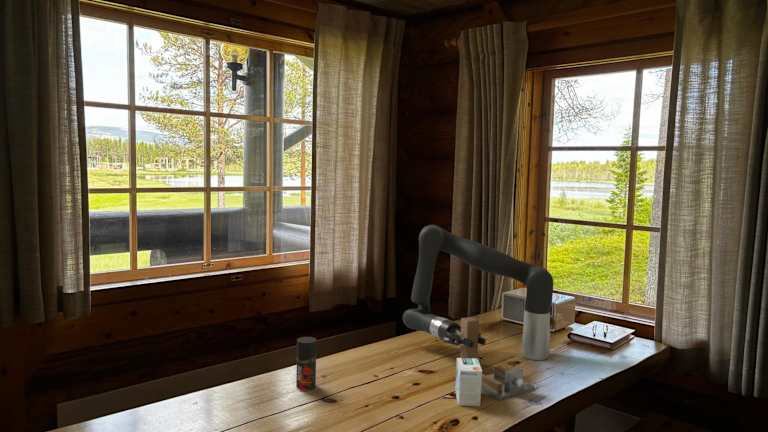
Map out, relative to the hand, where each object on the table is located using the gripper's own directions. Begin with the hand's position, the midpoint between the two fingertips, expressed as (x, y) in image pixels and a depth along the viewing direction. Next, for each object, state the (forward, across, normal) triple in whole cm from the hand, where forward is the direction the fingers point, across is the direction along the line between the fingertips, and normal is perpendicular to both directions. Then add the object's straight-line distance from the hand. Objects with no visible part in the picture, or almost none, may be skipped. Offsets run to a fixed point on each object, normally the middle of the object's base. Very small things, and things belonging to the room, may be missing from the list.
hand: (479, 343), depth 183 cm
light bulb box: (+11, -15, +11) cm, 22 cm away
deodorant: (-21, -53, +11) cm, 58 cm away
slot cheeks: (+9, 0, +10) cm, 14 cm away
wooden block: (-3, 0, +11) cm, 12 cm away
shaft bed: (+10, 0, +11) cm, 15 cm away
